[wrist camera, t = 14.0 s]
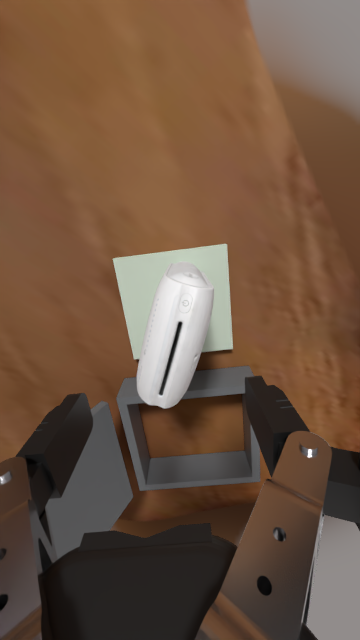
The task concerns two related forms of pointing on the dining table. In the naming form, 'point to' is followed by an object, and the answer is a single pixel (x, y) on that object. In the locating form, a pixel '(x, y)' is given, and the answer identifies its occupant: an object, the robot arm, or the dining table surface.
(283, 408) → the robot arm
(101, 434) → the case lid
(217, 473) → the case
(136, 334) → the mat
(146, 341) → the white slotted device
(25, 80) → the dining table surface
